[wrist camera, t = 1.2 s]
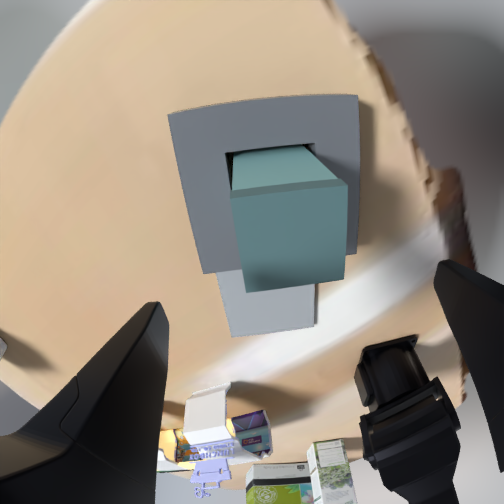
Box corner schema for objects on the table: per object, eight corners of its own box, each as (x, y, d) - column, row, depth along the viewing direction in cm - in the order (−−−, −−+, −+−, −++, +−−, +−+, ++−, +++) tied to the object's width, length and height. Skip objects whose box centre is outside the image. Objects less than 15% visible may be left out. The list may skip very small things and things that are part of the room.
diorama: (225, 374, 28) (226, 494, 17) (269, 410, 33) (278, 503, 22) (88, 408, 34) (70, 482, 23) (135, 436, 39) (125, 503, 28)
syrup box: (305, 452, 43) (315, 519, 31) (312, 441, 40) (324, 516, 28) (334, 448, 44) (347, 513, 32) (344, 436, 41) (359, 508, 28)
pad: (313, 255, 21) (314, 258, 20) (312, 323, 24) (313, 326, 24) (215, 268, 21) (215, 271, 20) (231, 334, 24) (231, 337, 24)
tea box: (322, 458, 48) (333, 518, 35) (307, 471, 53) (315, 523, 40) (251, 463, 46) (255, 528, 33) (244, 474, 51) (247, 529, 38)
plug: (301, 142, 16) (347, 185, 10) (305, 204, 19) (343, 279, 12) (232, 150, 17) (229, 198, 10) (242, 212, 19) (246, 293, 12)
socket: (345, 93, 15) (357, 95, 13) (346, 238, 20) (356, 253, 18) (175, 111, 15) (167, 114, 13) (206, 257, 20) (203, 274, 19)
